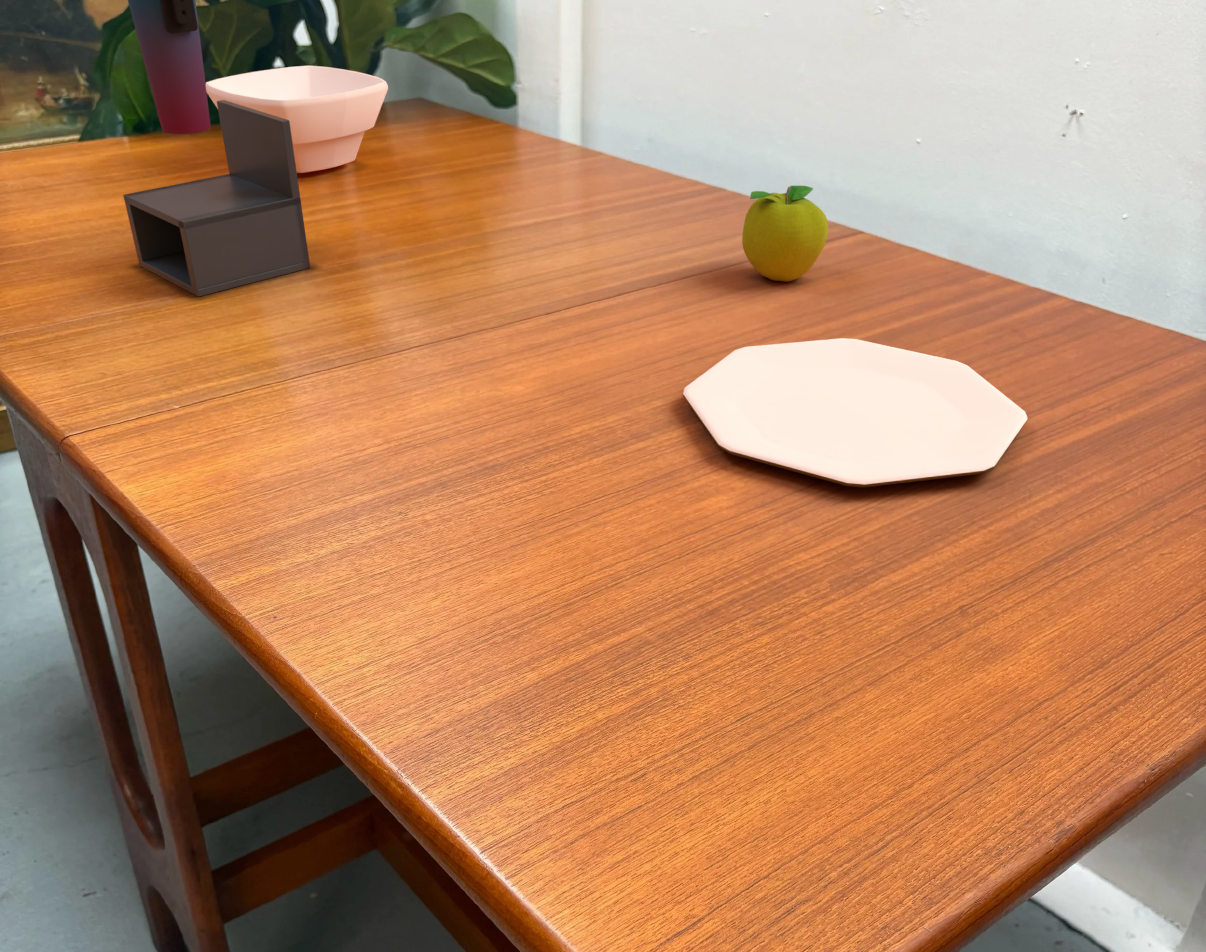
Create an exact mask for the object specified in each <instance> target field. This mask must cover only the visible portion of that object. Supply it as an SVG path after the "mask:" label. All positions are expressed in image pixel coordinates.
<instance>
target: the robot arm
mask: <svg viewBox="0 0 1206 952" xmlns="http://www.w3.org/2000/svg"><path fill="white" fill-rule="evenodd" d="M160 1H161V7H162V12H163V17H164V22H165V27H166V31H167V32H169V33H180V32H189V31H196V30H197V29H198V26H199V24H198V25H197V19H196V14H195V8H194V2H193V0H160Z"/></svg>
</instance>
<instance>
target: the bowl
mask: <svg viewBox="0 0 1206 952" xmlns="http://www.w3.org/2000/svg"><path fill="white" fill-rule="evenodd" d="M205 84H206V92H207V96H208V97H209V98H210V100H211V101H212V103H213V105H214V106H215V108H216V109H217V110H218V106H217V101H220V100H226V101H229V102H232V103H235V104H239V105H242V106H245V107H248V108H251V109H255V110H258V111H261V112H264V113H268V114H271V115H274V116H277V117H280V118H284V119H287V120H289V122H290V129H291V136H292V143H293V150H294V157H295V164H296V171H297V174H303V173H311V172H317V171H324V170H327V169H333V168H336V167H340V166H343V165H346V164H348V163H353V162H354V161H355V160H356V158H357V155H358V153H359V150H360V146H361V144H362V141H363V138H364V135H365V132H366V131H369V130H370V129H373V128H374V127H375V125H376V122H377V119H378V117H379V114H380V112H381V108H382V106H383V103H384V100H385V98H386V95H387V93H388V90H389V86H388V83H387V81H386V80H384V79H382V78H381V77H379V76H374V75H371V74H368V73H364V72H360V71H354V70H350V69H349V70H348V69H343V68H337V67H330V66H320V65H319V66H318V65H299V66H298V65H297V66H288V67H278V68H271V69H264V70H257V71H250V72H245V73H239V74H234V75H230V76H224V77H220V78H216V79H212V80H209V81H205Z"/></svg>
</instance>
